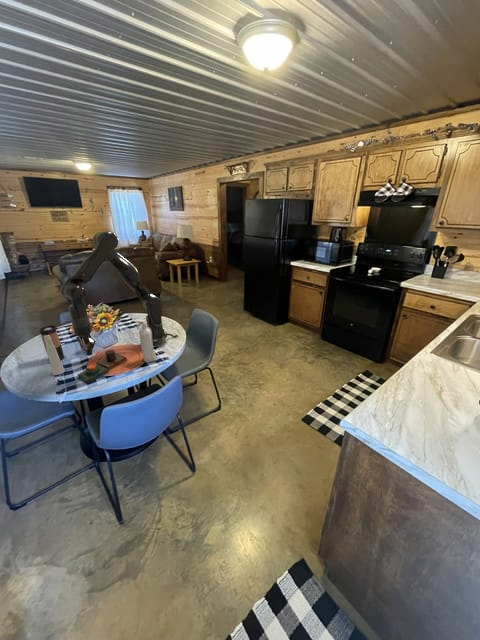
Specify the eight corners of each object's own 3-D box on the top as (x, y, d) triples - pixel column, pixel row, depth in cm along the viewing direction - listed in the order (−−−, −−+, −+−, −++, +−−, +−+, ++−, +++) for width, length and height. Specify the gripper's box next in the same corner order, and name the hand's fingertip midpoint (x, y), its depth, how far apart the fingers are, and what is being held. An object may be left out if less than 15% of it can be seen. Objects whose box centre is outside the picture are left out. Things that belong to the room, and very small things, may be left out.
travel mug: (67, 357, 156) (58, 326, 148) (55, 363, 149) (45, 331, 142) (58, 354, 158) (49, 324, 151) (46, 361, 152) (35, 330, 144)
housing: (98, 367, 145) (96, 361, 144) (108, 372, 141) (106, 366, 140) (78, 377, 137) (76, 371, 135) (88, 383, 132) (87, 376, 131)
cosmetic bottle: (53, 370, 143) (41, 334, 134) (65, 368, 145) (54, 332, 136) (50, 376, 138) (38, 339, 129) (64, 373, 140) (52, 337, 131)
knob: (104, 360, 148) (102, 352, 146) (112, 356, 152) (110, 348, 150) (110, 362, 146) (108, 354, 144) (118, 358, 150) (116, 350, 148)
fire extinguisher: (153, 365, 148) (147, 324, 138) (138, 359, 153) (131, 320, 143) (162, 359, 153) (156, 320, 143) (147, 354, 159) (141, 316, 149)
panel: (115, 356, 157) (115, 352, 156) (127, 360, 152) (126, 356, 151) (97, 365, 147) (96, 361, 146) (108, 370, 143) (107, 366, 142)
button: (93, 366, 140) (92, 363, 139) (97, 368, 138) (96, 365, 137) (86, 370, 137) (86, 367, 136) (91, 372, 135) (90, 369, 135)
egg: (79, 352, 161) (74, 336, 157) (90, 347, 167) (86, 331, 163) (87, 355, 158) (83, 339, 154) (98, 349, 164) (94, 334, 160)
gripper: (96, 324, 128) (104, 354, 135) (81, 319, 134) (89, 348, 141) (81, 329, 122) (90, 361, 129) (66, 324, 128) (75, 355, 135)
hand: (89, 354), depth 135 cm, fingers closed
